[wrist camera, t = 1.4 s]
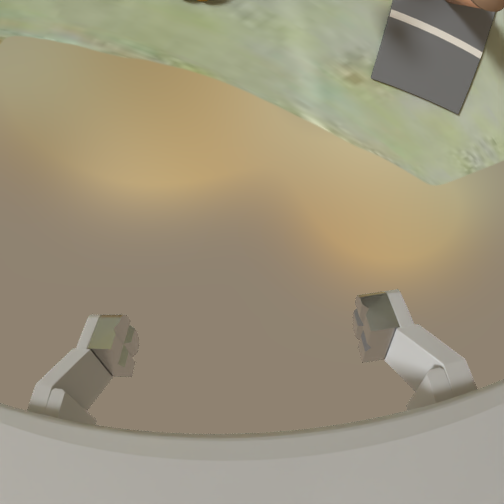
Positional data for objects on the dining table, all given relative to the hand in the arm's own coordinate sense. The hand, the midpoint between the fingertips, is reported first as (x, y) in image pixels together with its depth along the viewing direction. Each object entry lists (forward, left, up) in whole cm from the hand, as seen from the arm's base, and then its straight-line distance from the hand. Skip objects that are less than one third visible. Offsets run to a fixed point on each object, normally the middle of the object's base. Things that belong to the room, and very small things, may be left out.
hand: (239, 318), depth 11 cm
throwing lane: (-11, +16, -42) cm, 47 cm away
